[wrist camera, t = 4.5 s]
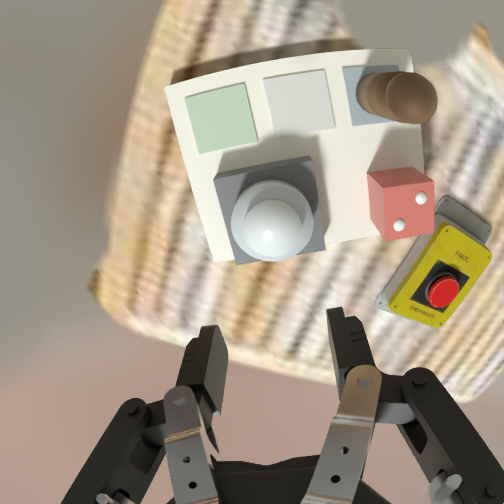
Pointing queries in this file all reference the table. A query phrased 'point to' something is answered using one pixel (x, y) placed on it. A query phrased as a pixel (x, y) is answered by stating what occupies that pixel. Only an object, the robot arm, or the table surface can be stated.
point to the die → (401, 202)
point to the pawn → (397, 96)
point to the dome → (272, 220)
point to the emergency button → (439, 267)
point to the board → (291, 140)
